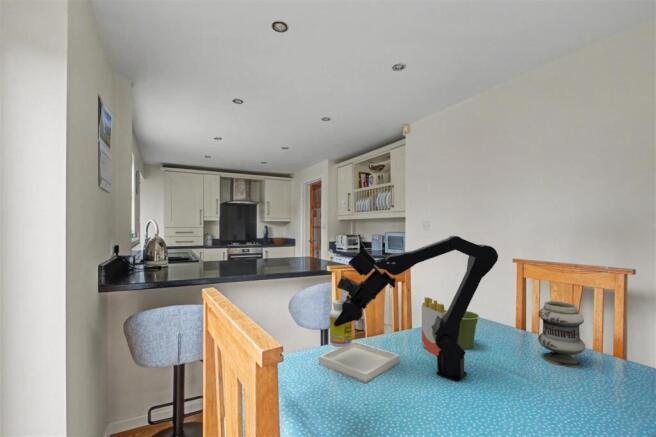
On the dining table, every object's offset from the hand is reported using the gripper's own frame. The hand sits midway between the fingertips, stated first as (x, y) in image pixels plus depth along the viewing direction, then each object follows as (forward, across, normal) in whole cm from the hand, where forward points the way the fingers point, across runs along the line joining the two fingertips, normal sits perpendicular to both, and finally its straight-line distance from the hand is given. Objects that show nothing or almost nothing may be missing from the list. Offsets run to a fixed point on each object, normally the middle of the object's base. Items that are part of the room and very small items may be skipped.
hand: (336, 321), depth 97 cm
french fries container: (-13, -16, +32) cm, 38 cm away
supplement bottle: (+4, 0, +6) cm, 7 cm away
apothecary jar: (-39, -17, +60) cm, 74 cm away
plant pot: (-20, -24, +39) cm, 50 cm away
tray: (+5, -3, +14) cm, 15 cm away
